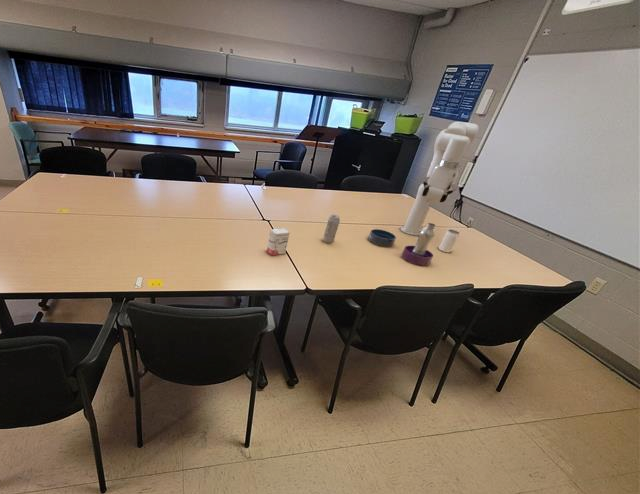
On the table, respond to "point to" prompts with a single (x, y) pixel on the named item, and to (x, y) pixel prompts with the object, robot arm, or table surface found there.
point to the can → (448, 240)
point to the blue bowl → (382, 237)
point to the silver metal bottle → (424, 240)
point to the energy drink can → (331, 229)
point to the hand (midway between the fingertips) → (432, 198)
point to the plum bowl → (414, 258)
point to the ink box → (278, 241)
